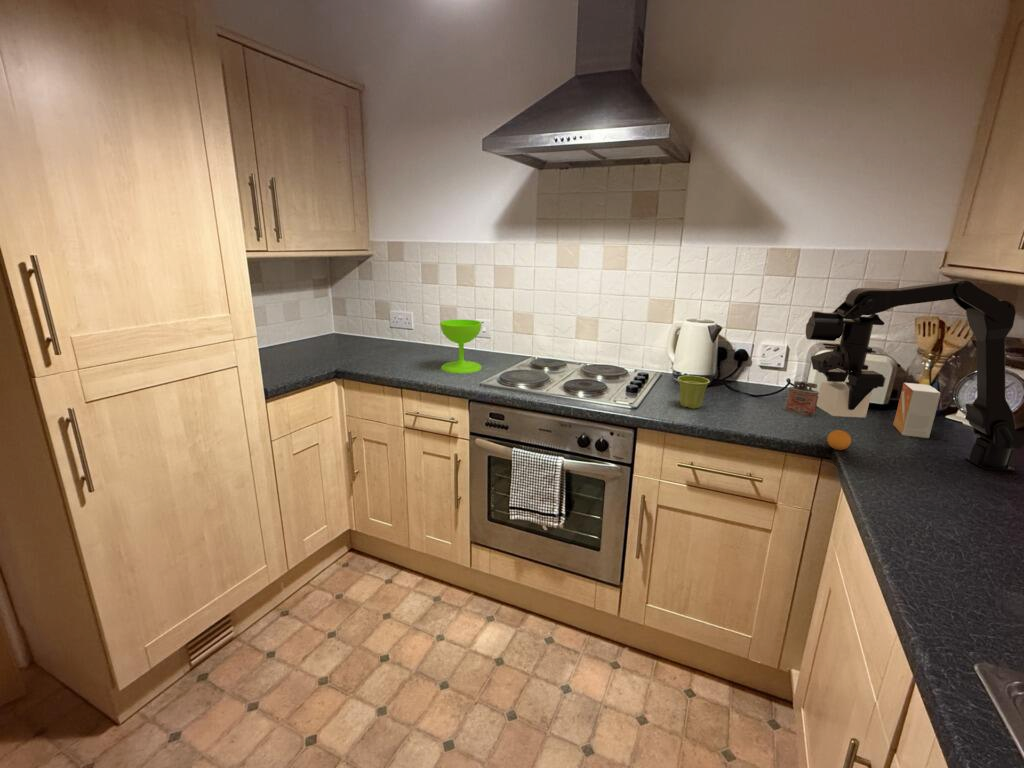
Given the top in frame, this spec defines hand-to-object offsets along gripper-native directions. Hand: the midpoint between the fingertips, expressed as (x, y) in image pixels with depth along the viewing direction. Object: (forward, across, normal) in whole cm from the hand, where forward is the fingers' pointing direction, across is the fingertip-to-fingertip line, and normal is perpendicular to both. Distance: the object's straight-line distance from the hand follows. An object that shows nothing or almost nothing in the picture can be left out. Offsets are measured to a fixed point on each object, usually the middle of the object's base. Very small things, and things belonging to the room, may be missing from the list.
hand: (841, 404), depth 125 cm
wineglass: (+12, -68, -106) cm, 127 cm away
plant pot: (+12, -31, -27) cm, 43 cm away
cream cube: (+2, 0, 0) cm, 2 cm away
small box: (+12, -15, +29) cm, 35 cm away
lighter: (+12, -28, +5) cm, 31 cm away
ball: (+10, 0, +1) cm, 10 cm away
